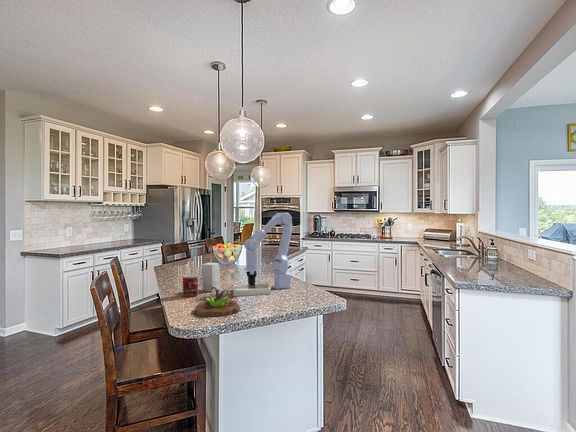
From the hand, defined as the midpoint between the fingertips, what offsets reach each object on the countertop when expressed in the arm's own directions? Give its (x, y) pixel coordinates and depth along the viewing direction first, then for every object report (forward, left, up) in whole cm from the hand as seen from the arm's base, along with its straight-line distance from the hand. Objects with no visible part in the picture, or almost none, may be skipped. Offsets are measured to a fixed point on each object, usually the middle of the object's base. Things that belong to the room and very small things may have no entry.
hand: (251, 284), depth 175 cm
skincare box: (+23, -9, -4) cm, 25 cm away
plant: (+17, +30, -4) cm, 35 cm away
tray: (0, 0, -4) cm, 4 cm away
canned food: (+33, +1, -4) cm, 33 cm away
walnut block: (0, 0, -2) cm, 2 cm away
